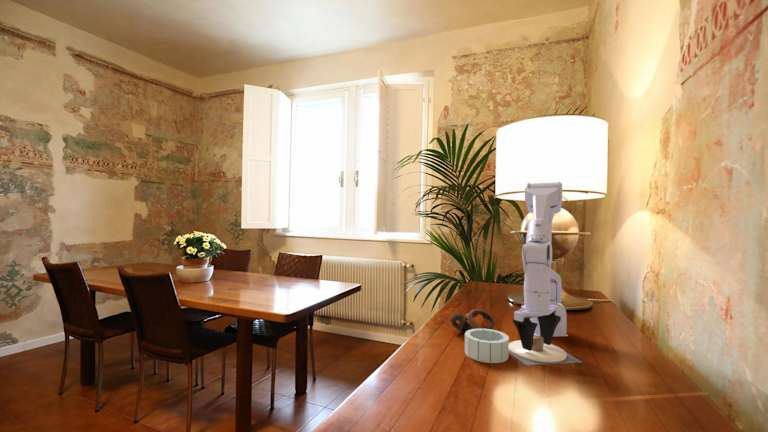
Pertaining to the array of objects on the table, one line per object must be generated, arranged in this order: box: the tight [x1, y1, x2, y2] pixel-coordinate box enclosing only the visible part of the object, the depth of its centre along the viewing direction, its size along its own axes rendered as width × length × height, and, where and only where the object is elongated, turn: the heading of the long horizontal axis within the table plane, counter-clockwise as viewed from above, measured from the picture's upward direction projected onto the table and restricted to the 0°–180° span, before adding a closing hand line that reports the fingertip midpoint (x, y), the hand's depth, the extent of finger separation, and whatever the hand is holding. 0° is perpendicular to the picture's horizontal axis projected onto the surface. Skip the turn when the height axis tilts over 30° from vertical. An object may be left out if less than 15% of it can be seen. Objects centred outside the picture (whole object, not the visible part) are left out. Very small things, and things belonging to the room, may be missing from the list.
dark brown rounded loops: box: [450, 309, 495, 334], centre depth 96 cm, size 12×10×8 cm
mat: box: [509, 341, 584, 366], centre depth 83 cm, size 14×14×1 cm
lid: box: [509, 335, 568, 363], centre depth 83 cm, size 13×13×4 cm
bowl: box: [464, 328, 510, 364], centre depth 82 cm, size 10×10×5 cm
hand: (536, 346), depth 83 cm, fingers open, 7 cm apart
